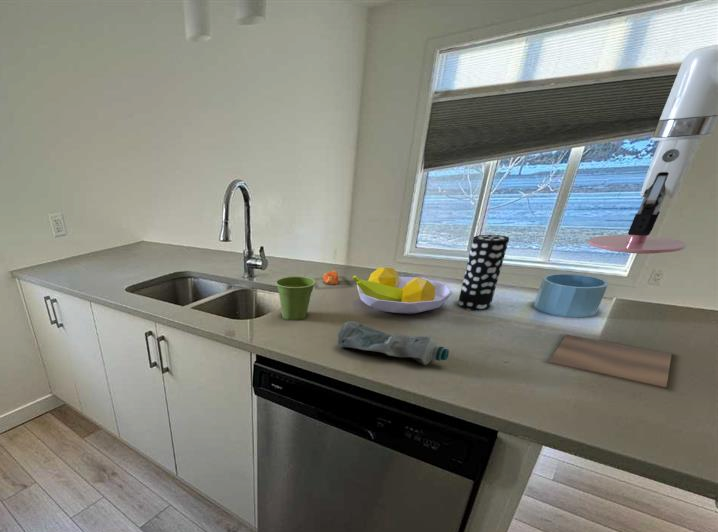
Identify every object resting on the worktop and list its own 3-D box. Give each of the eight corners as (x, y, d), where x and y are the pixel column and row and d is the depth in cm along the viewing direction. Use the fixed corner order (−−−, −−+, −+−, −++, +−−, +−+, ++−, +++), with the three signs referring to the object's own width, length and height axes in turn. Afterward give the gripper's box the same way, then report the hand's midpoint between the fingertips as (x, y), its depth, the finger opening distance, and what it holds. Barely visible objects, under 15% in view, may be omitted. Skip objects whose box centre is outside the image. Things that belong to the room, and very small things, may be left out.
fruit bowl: (434, 293, 134) (442, 258, 128) (457, 323, 112) (466, 283, 106) (346, 293, 141) (349, 260, 135) (350, 322, 119) (354, 284, 113)
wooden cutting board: (565, 337, 99) (566, 334, 99) (670, 357, 88) (671, 353, 87) (548, 364, 89) (549, 361, 89) (664, 390, 77) (666, 387, 77)
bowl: (539, 299, 122) (549, 271, 118) (599, 307, 113) (612, 277, 109) (528, 312, 114) (538, 283, 110) (591, 322, 105) (604, 291, 101)
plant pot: (298, 327, 119) (299, 289, 113) (267, 318, 127) (267, 283, 121) (321, 315, 125) (324, 279, 119) (291, 307, 133) (291, 273, 127)
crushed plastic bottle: (328, 352, 103) (432, 380, 86) (330, 325, 99) (439, 348, 83) (353, 339, 111) (453, 362, 94) (356, 313, 108) (460, 333, 91)
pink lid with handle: (593, 238, 95) (607, 200, 90) (686, 243, 85) (706, 201, 81) (580, 251, 86) (595, 210, 82) (681, 259, 76) (703, 212, 72)
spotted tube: (484, 314, 116) (503, 242, 106) (452, 308, 121) (468, 239, 111) (493, 305, 120) (513, 236, 110) (463, 300, 126) (479, 233, 116)
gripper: (712, 129, 68) (661, 242, 77) (714, 126, 77) (668, 227, 86) (649, 133, 73) (608, 239, 82) (658, 130, 82) (620, 225, 91)
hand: (639, 232), depth 84 cm, fingers closed on pink lid with handle, 2 cm apart
